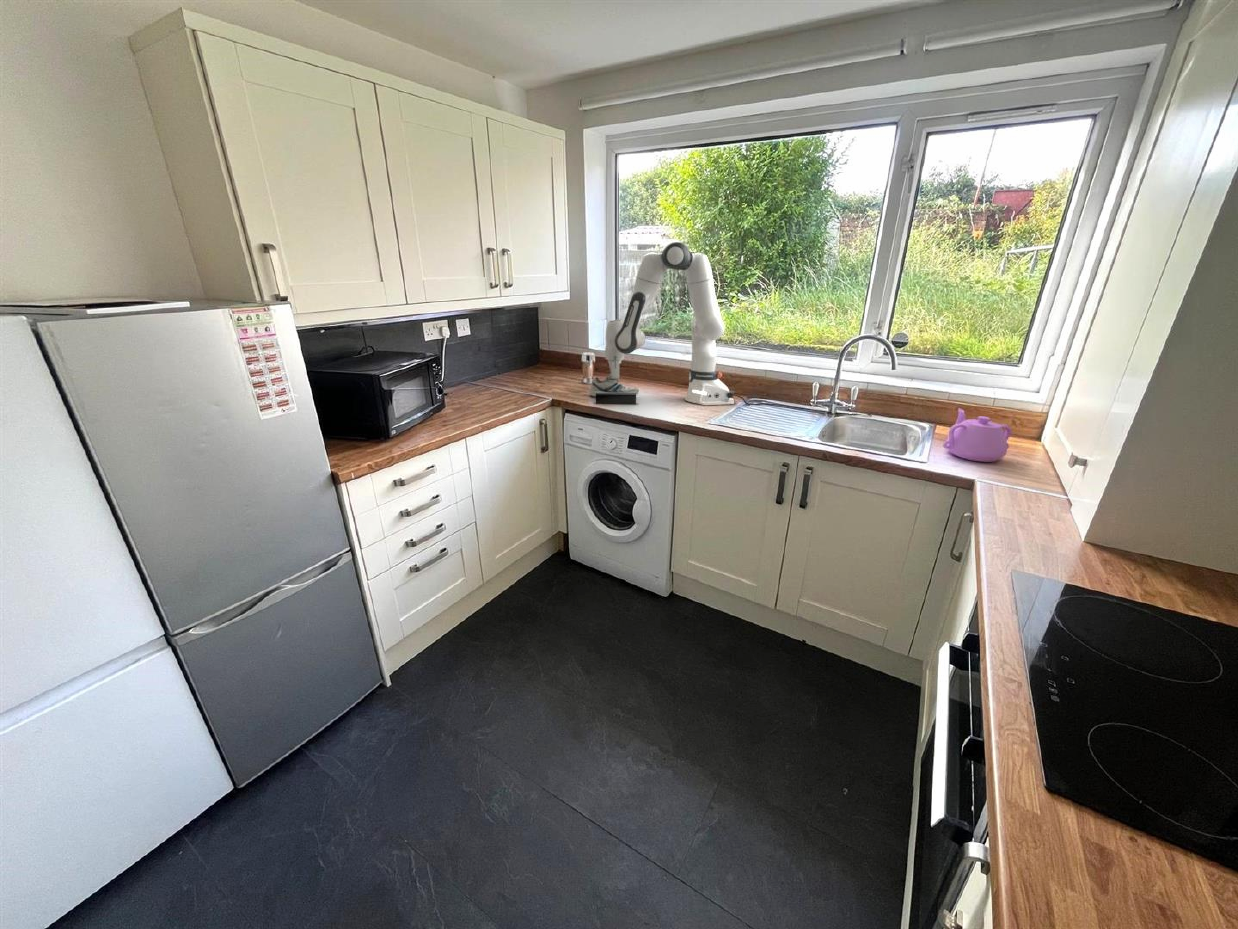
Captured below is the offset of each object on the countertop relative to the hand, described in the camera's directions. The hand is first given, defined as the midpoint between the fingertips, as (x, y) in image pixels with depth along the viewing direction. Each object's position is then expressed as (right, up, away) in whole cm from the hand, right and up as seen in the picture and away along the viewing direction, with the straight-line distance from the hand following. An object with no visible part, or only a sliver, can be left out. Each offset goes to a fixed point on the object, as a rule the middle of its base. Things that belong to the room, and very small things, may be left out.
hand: (613, 384), depth 237 cm
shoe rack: (+1, -11, -15) cm, 18 cm away
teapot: (+123, -34, -64) cm, 143 cm away
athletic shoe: (0, -7, -4) cm, 8 cm away
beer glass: (-14, +5, +24) cm, 28 cm away
